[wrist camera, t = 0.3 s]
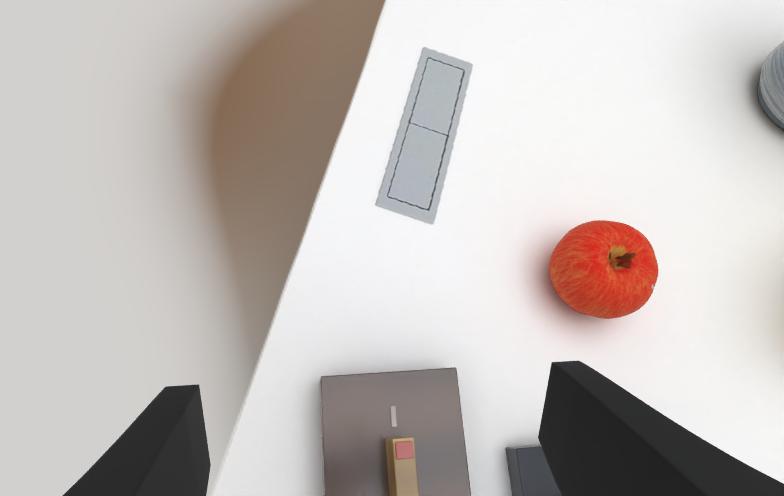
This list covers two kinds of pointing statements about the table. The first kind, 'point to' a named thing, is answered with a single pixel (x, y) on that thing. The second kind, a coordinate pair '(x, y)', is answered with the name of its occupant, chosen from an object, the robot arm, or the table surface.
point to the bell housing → (530, 472)
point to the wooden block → (401, 466)
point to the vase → (773, 86)
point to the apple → (604, 269)
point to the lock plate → (392, 431)
